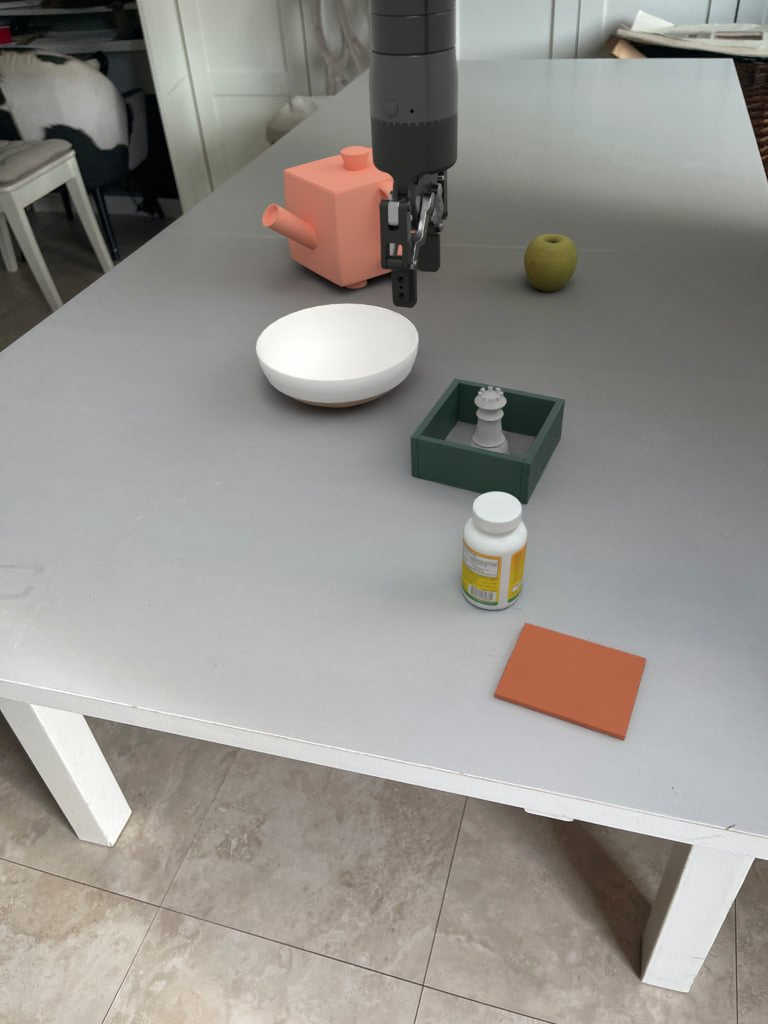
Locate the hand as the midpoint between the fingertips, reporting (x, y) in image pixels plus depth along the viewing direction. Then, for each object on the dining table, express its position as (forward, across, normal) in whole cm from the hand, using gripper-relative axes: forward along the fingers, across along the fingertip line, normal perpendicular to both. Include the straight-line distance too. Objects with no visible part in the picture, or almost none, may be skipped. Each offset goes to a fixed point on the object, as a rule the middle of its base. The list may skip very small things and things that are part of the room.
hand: (417, 287), depth 79 cm
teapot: (+18, +41, +24) cm, 50 cm away
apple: (+18, +43, -8) cm, 47 cm away
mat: (+18, -30, -21) cm, 40 cm away
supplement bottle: (+18, -21, -13) cm, 31 cm away
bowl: (+18, +9, +13) cm, 24 cm away
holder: (+18, -2, -8) cm, 20 cm away
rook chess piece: (+18, -2, -8) cm, 20 cm away
